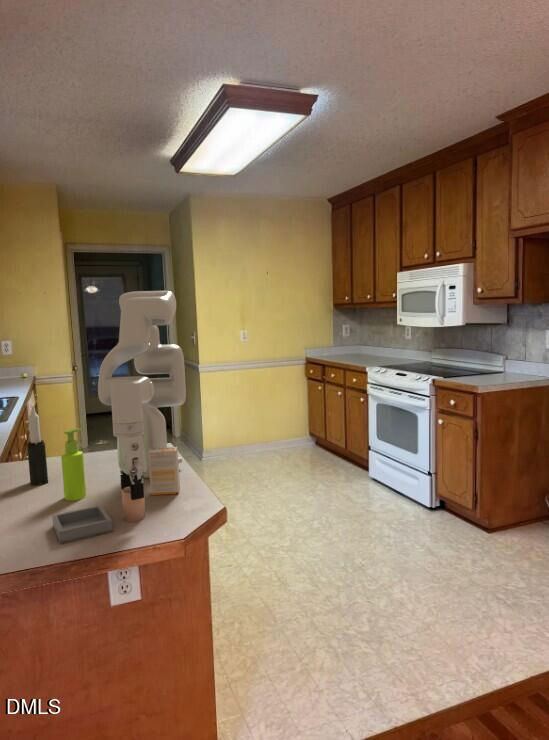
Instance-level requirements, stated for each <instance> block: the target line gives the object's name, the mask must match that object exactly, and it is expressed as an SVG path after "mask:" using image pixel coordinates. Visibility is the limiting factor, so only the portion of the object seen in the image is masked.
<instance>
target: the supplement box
mask: <svg viewBox="0 0 549 740" xmlns="http://www.w3.org/2000/svg"><path fill="white" fill-rule="evenodd" d="M178 458H179V451H178V446H172V447H169V446H167V448H151V449H150V450H149V451H148V463H149V477H150V478H149V486H150V488H149V489H150V496H159V495H161V496H162V494H163V495H176V493H178V494H179V493H180V490H181V482H180V479H181V478H180V468H179V467H180V466H179V464H178Z"/></svg>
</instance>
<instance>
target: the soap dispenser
mask: <svg viewBox="0 0 549 740" xmlns="http://www.w3.org/2000/svg"><path fill="white" fill-rule="evenodd" d="M83 430H84V429H83V428H70V429H68V430H65V431H63V433H64V434H65V435H66V436H67V440H66V441H65V442H64V446H65V452H63V453H61V455H60V457H61V469H62V480H63V495H64V500H66V501H70V502H71V501H79V500H81V499H84V498H85V496H87V490H86V488H87V487H86V478H85V477H86V475H85V464H84V452H83V451H81V450H79V447H78V440H76V439H75V435H74V433H76V432H80V431H81V432H82V431H83Z"/></svg>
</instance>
